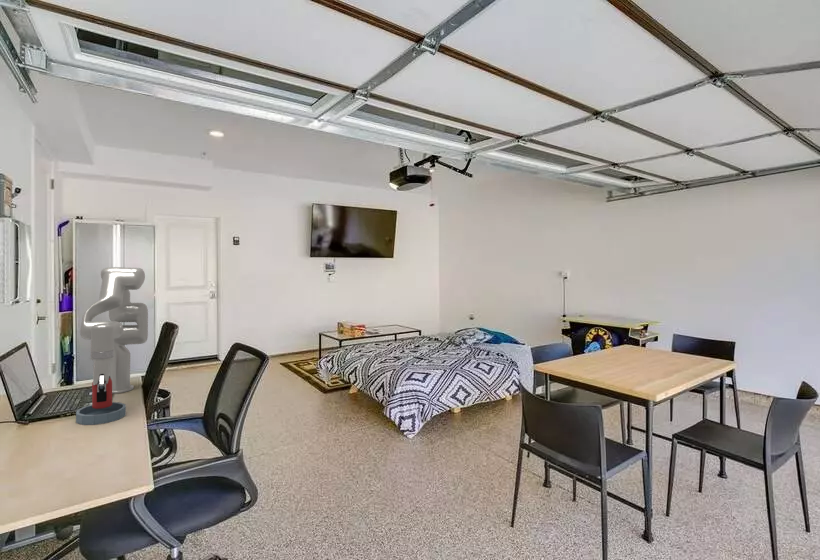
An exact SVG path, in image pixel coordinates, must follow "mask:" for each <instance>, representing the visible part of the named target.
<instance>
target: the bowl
mask: <svg viewBox="0 0 820 560" xmlns="http://www.w3.org/2000/svg"><path fill="white" fill-rule="evenodd" d="M126 405H127V404H126V403H122V402H120V401H119V402H116V401H115V402H114V401H112V405H111V406H110V407H108V408H104V409H94V408H92V404H90V405H86V406H83V407H81V408H79V409H76V412H75V423H76V424H80V425H82V426H83V425H84V426H95V425H101V424H103V425H104V424H107V423H111V422H115V421H119V420H120V419H123V418H124V417H126V416H127V413H126V409H127V408H126V407H127V406H126Z"/></svg>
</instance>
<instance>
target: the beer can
mask: <svg viewBox="0 0 820 560" xmlns="http://www.w3.org/2000/svg"><path fill="white" fill-rule="evenodd" d="M104 383H105V382H104ZM97 384H98V383H97ZM97 384H95V385H93V381H92V383H91V394H92V395H91V405H92V408H94V409H104V408H108V407H110V406H111V405H112V402H113V394H112V380H111V378H110V376H109V380H108V383H107V384H106V391H107V401H104V402H97ZM99 384H100V383H99Z"/></svg>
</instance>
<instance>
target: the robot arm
mask: <svg viewBox="0 0 820 560" xmlns="http://www.w3.org/2000/svg"><path fill="white" fill-rule="evenodd" d="M100 277H101V286H100V292H99V298H98V300H97V301H95V302H94V303H93V304H91V305H90V306H88V307H87V309H86V310H85V311H84V313H83V315H82V320H81V324H80V327H79V328H80V329H79V330H80V331H79V333H80V337H81V338H82V339H83V340H86V341H90V361H93V365H92V366H93V369H92V372H93V373H92V382H93V385H95V384H97V383H98V384H97V402H104V401H107V391H106V384H107V383H108V380H109V376H110V378H111V380H112V395H113V394H122V393H126V392H130V391H132V390H134V388H135V385H133V384H131V352H130V350H129V349H128V347H126V346H127V345H128V346H129V345H144V344H145V343H146V342H147V340H148V337H149V311H148V310H149V309H148V307H147V305H146V304H145V303H144V302H132V301H131V291H133V290H136V291H138V290H139V289H141V288H142V285H143V284H144V282H145V279H146V275H145V270H144V269H143V268H140V267H125V266H110V267H109V266H108V267H104V268H102V269H101V271H100ZM106 312H108V318H109V320H100V321H99V320H97V321H95V320H94V321H93V319H94V318H95V317H97V316H98V315H100V314H102V313H106ZM122 323H136V324H122ZM104 382H105V383H104ZM99 383H100V384H99Z"/></svg>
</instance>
